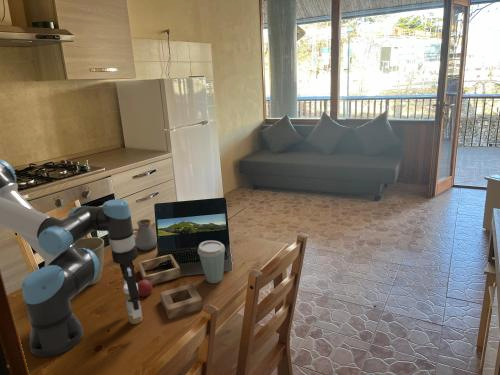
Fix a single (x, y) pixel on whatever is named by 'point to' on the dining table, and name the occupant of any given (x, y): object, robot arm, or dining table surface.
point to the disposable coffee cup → (212, 260)
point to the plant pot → (97, 248)
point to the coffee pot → (145, 235)
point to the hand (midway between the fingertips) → (134, 306)
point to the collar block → (182, 306)
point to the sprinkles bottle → (127, 297)
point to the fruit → (144, 288)
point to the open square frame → (159, 276)
